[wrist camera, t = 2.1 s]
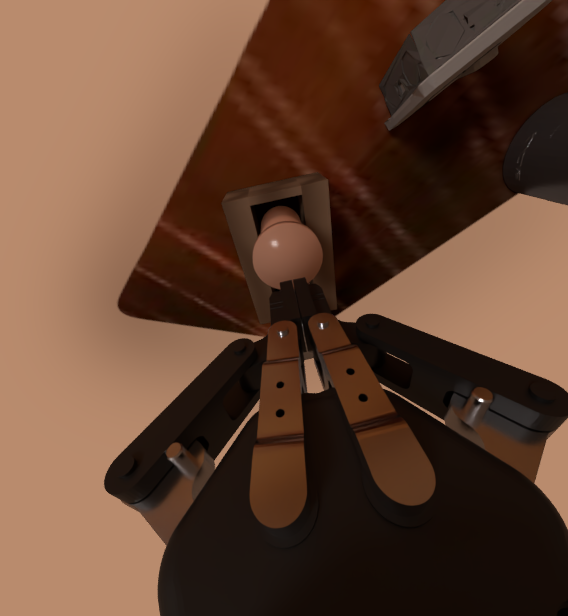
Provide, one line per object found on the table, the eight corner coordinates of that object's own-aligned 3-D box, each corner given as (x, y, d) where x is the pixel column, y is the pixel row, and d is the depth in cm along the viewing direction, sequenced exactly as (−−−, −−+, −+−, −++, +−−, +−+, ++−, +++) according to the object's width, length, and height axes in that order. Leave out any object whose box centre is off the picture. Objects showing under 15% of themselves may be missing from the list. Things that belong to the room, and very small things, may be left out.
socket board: (317, 172, 26) (328, 179, 22) (328, 288, 35) (337, 309, 31) (227, 192, 27) (221, 203, 23) (260, 302, 36) (260, 324, 32)
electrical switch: (385, 133, 25) (435, 121, 17) (361, 78, 23) (407, 34, 15) (481, 57, 22) (596, 0, 14) (465, -15, 20) (591, -131, 12)
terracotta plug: (303, 193, 23) (319, 217, 16) (310, 246, 26) (325, 282, 19) (248, 205, 23) (243, 233, 17) (261, 256, 26) (261, 295, 20)
